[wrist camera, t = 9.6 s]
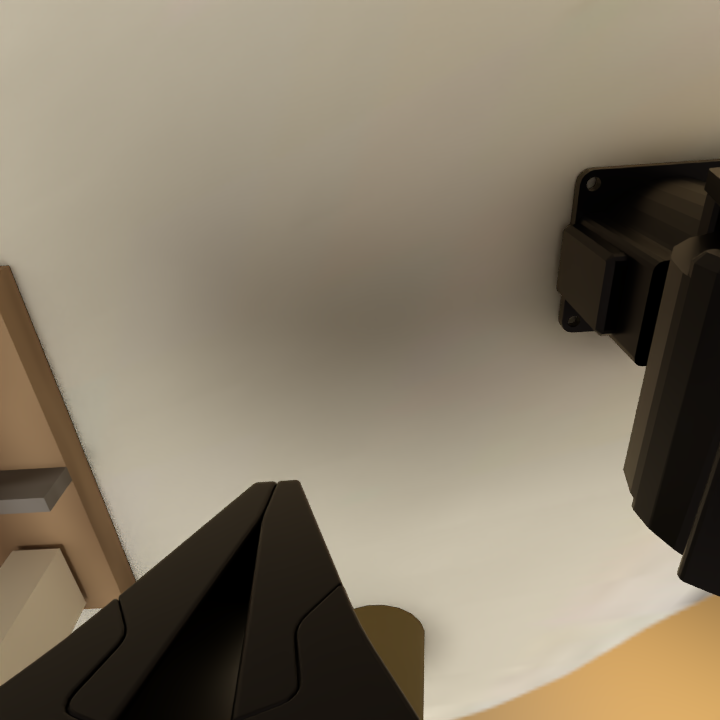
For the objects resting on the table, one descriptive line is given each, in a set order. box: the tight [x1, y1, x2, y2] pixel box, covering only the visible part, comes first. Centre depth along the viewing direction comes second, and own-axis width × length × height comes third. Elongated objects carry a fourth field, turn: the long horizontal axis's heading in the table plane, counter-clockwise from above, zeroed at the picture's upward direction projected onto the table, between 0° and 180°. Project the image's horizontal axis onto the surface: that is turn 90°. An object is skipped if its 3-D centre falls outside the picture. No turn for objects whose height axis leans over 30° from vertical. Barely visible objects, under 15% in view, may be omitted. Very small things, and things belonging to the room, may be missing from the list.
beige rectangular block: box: [0, 548, 86, 686], centre depth 23 cm, size 3×4×9 cm, turn 4°
